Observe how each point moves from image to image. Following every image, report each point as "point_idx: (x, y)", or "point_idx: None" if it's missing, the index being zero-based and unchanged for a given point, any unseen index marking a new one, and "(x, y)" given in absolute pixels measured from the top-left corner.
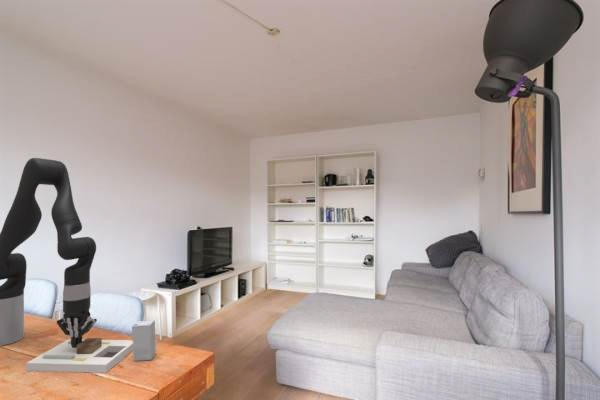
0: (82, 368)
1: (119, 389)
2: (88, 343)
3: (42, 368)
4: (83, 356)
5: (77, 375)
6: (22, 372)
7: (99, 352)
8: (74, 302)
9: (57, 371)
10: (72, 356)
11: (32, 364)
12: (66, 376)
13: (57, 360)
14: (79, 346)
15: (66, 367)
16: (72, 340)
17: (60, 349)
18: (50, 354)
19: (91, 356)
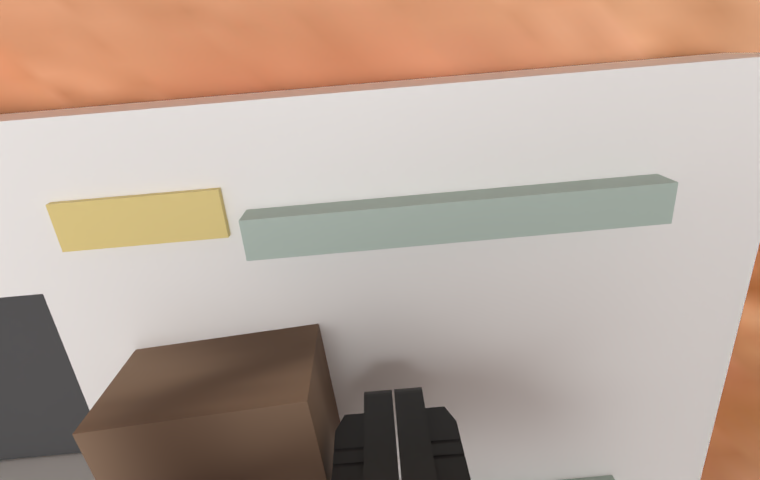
0: (18, 116)
1: None
2: (174, 460)
3: (542, 70)
4: (175, 289)
5: (36, 43)
6: (745, 18)
7: (84, 388)
8: None
9: (351, 85)
10: (250, 234)
11: (703, 61)
12: (145, 6)
13: (422, 163)
14: (268, 393)
15: (226, 97)
16: (426, 468)
17: (607, 379)
18: (639, 276)
19: (74, 302)
